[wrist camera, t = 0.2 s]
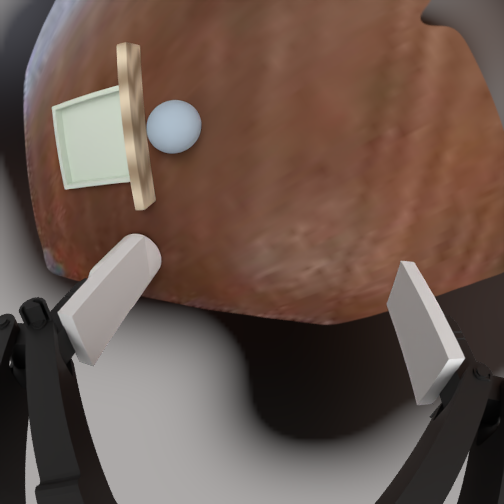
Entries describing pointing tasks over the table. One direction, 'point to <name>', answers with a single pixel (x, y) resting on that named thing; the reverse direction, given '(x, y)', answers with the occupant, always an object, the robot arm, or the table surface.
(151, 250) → the beverage can
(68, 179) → the tray
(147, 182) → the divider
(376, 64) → the table surface
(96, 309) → the robot arm
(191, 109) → the ball
